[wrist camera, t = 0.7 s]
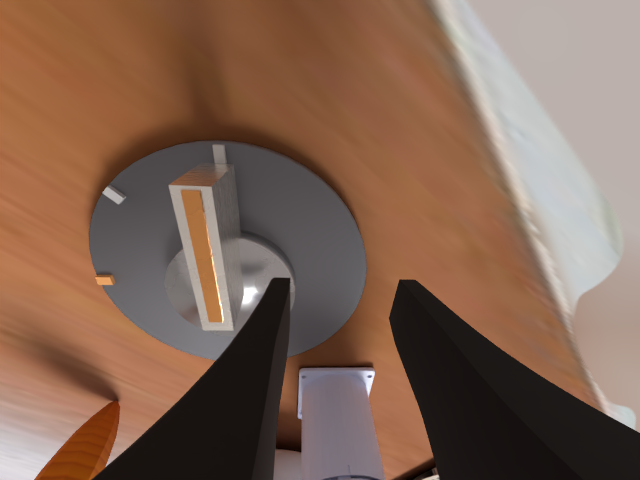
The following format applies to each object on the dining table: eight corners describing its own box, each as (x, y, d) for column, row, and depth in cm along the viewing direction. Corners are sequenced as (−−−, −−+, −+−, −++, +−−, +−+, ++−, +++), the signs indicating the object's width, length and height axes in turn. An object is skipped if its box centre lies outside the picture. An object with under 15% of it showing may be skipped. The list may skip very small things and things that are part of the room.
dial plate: (348, 353, 26) (350, 364, 25) (143, 354, 25) (136, 366, 24) (385, 148, 16) (391, 152, 15) (46, 130, 15) (25, 133, 14)
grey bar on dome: (295, 322, 22) (292, 376, 18) (187, 322, 22) (158, 377, 17) (297, 164, 16) (294, 190, 11) (141, 156, 15) (76, 181, 11)
